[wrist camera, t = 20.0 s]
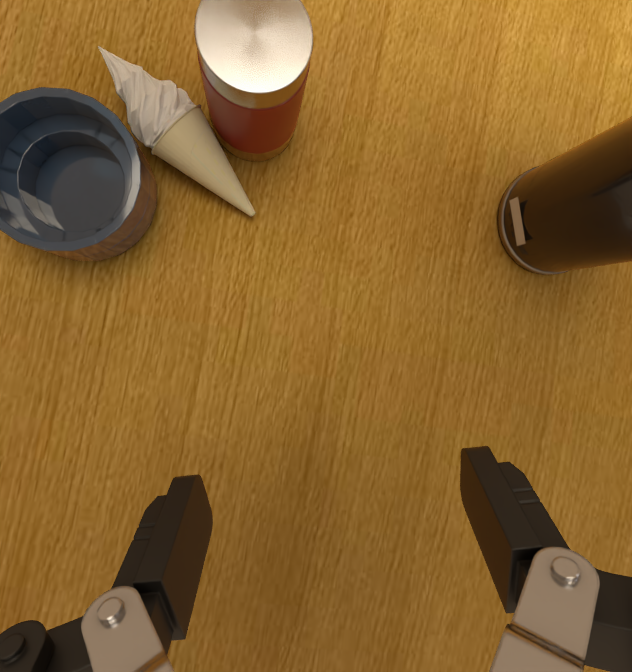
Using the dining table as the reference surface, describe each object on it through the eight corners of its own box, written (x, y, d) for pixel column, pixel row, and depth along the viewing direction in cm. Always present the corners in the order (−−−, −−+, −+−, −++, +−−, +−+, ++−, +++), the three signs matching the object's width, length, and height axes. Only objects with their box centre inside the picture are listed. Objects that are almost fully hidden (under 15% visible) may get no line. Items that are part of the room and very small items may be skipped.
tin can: (280, 67, 36) (292, -41, 25) (306, 149, 37) (329, 77, 26) (199, 89, 35) (175, -14, 24) (227, 172, 36) (216, 107, 25)
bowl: (131, 109, 35) (108, 69, 29) (176, 238, 35) (162, 224, 30) (-8, 145, 33) (-59, 111, 28) (42, 279, 34) (3, 271, 29)
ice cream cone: (257, 207, 39) (117, 52, 34) (286, 183, 35) (132, 2, 30) (221, 244, 36) (66, 84, 31) (248, 224, 32) (73, 35, 27)
